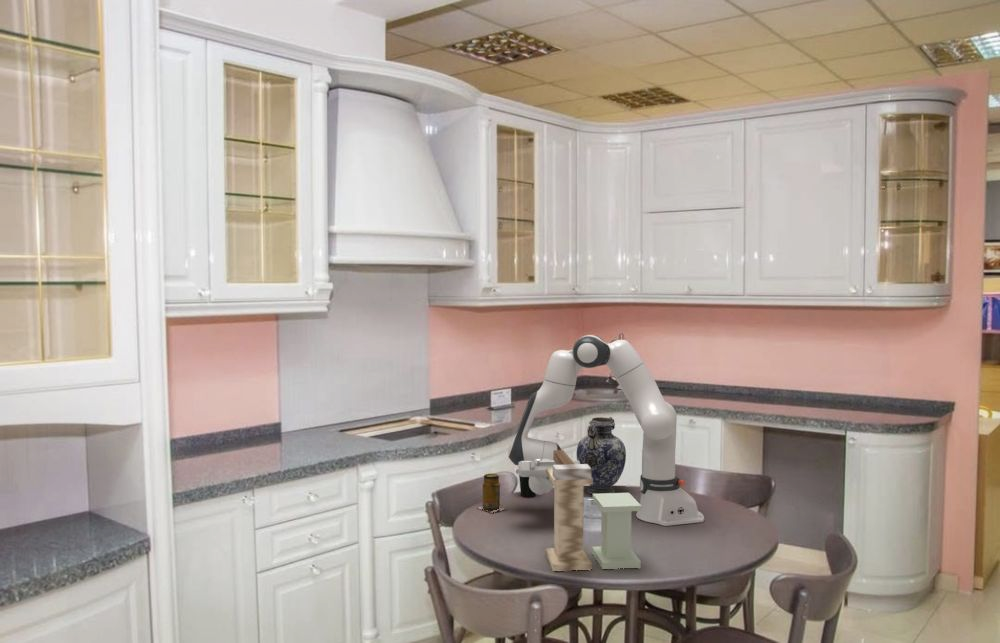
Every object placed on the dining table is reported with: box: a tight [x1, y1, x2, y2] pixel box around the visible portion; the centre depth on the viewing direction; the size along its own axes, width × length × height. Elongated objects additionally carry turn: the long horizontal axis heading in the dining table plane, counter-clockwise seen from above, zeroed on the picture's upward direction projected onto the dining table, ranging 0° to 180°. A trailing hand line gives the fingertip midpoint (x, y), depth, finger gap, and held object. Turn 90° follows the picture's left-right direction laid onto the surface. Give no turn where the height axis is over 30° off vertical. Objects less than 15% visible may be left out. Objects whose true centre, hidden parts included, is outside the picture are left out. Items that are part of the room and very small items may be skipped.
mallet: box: [553, 449, 591, 480], centre depth 229 cm, size 10×23×3 cm, turn 6°
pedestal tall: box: [545, 468, 593, 572], centre depth 225 cm, size 11×13×26 cm
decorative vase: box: [576, 416, 627, 496], centre depth 297 cm, size 21×19×28 cm
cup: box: [518, 474, 537, 499], centre depth 292 cm, size 8×8×12 cm
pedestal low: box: [591, 492, 642, 570], centre depth 227 cm, size 11×13×18 cm
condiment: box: [477, 473, 501, 514], centre depth 276 cm, size 7×8×12 cm
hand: (552, 461), depth 249 cm, fingers open, 8 cm apart
